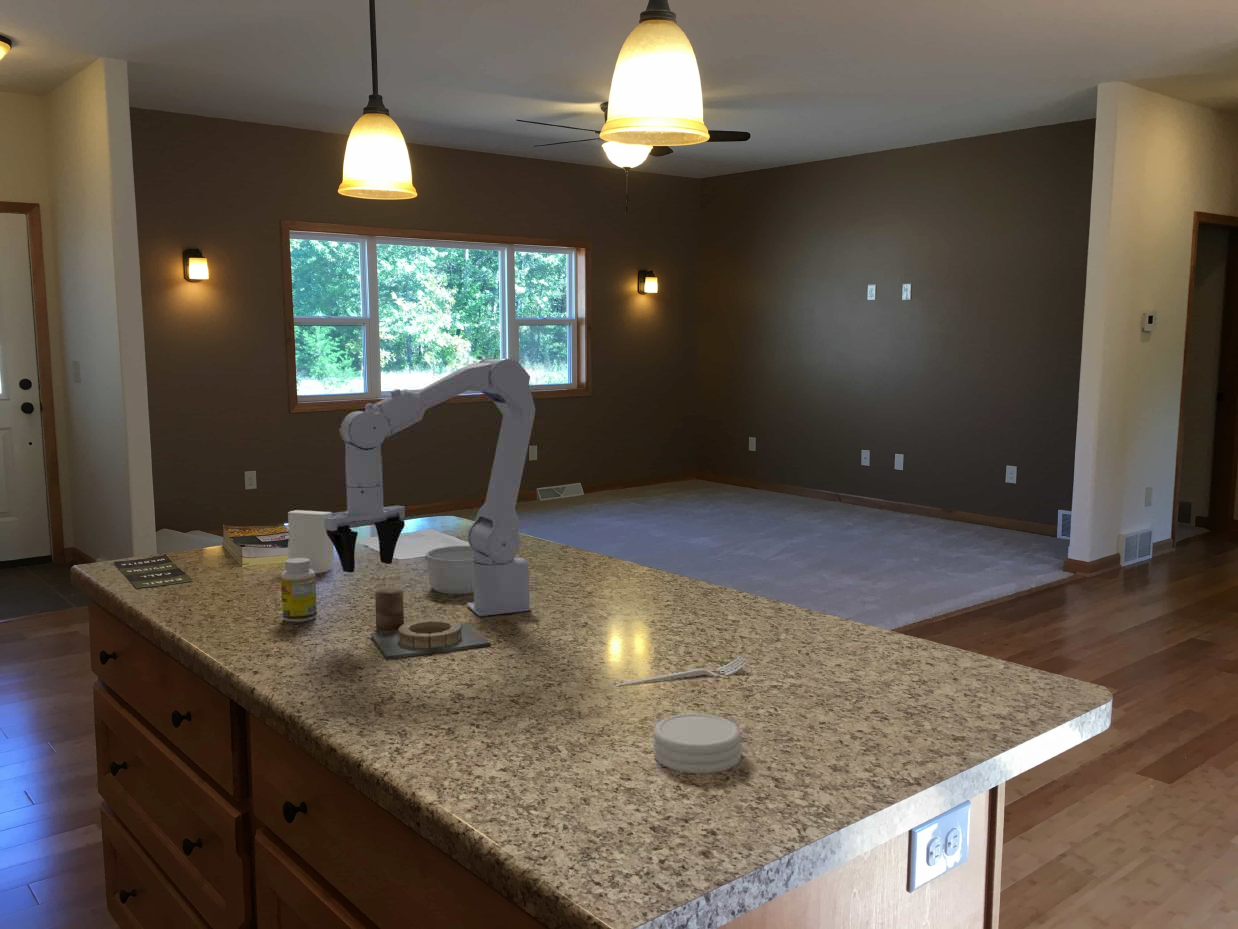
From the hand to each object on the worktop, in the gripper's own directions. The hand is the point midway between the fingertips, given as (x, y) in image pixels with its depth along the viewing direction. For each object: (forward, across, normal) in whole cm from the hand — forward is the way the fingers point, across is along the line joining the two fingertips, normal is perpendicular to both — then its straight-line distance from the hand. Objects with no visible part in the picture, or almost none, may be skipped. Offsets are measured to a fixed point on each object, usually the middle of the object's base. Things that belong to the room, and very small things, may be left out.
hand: (367, 567), depth 160 cm
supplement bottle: (+10, +4, -13) cm, 17 cm away
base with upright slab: (+10, -19, -44) cm, 49 cm away
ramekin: (+11, -28, -8) cm, 31 cm away
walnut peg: (+10, -2, +2) cm, 11 cm away
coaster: (+11, +9, +71) cm, 72 cm away
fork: (+11, -12, +54) cm, 57 cm away
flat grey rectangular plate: (+10, -1, +14) cm, 17 cm away
